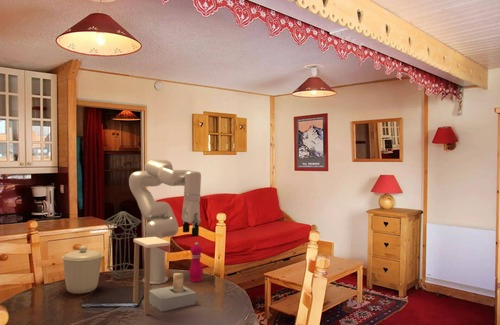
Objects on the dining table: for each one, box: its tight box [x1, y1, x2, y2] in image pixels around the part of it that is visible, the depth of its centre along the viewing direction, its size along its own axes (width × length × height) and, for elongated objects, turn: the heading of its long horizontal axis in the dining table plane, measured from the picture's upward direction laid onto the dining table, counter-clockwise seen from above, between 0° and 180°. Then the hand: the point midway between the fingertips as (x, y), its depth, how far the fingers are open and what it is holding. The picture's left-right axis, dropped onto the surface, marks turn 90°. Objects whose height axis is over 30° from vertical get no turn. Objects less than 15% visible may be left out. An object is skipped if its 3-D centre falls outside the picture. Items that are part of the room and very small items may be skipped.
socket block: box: [149, 285, 197, 313], centre depth 172 cm, size 14×16×5 cm
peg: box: [172, 272, 184, 293], centre depth 174 cm, size 4×4×12 cm
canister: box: [61, 245, 104, 295], centre depth 186 cm, size 18×18×21 cm
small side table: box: [132, 237, 171, 316], centre depth 166 cm, size 15×10×28 cm, turn 37°
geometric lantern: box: [103, 210, 143, 280], centre depth 211 cm, size 16×16×35 cm
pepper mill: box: [188, 241, 204, 283], centre depth 206 cm, size 7×7×20 cm
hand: (190, 234), depth 185 cm, fingers open, 9 cm apart
